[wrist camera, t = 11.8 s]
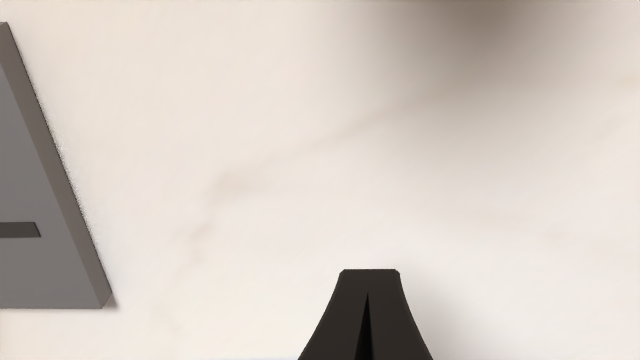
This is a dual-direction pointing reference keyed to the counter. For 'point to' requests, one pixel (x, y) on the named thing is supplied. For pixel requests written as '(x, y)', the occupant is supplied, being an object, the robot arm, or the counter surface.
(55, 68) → the counter surface
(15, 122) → the fader console
